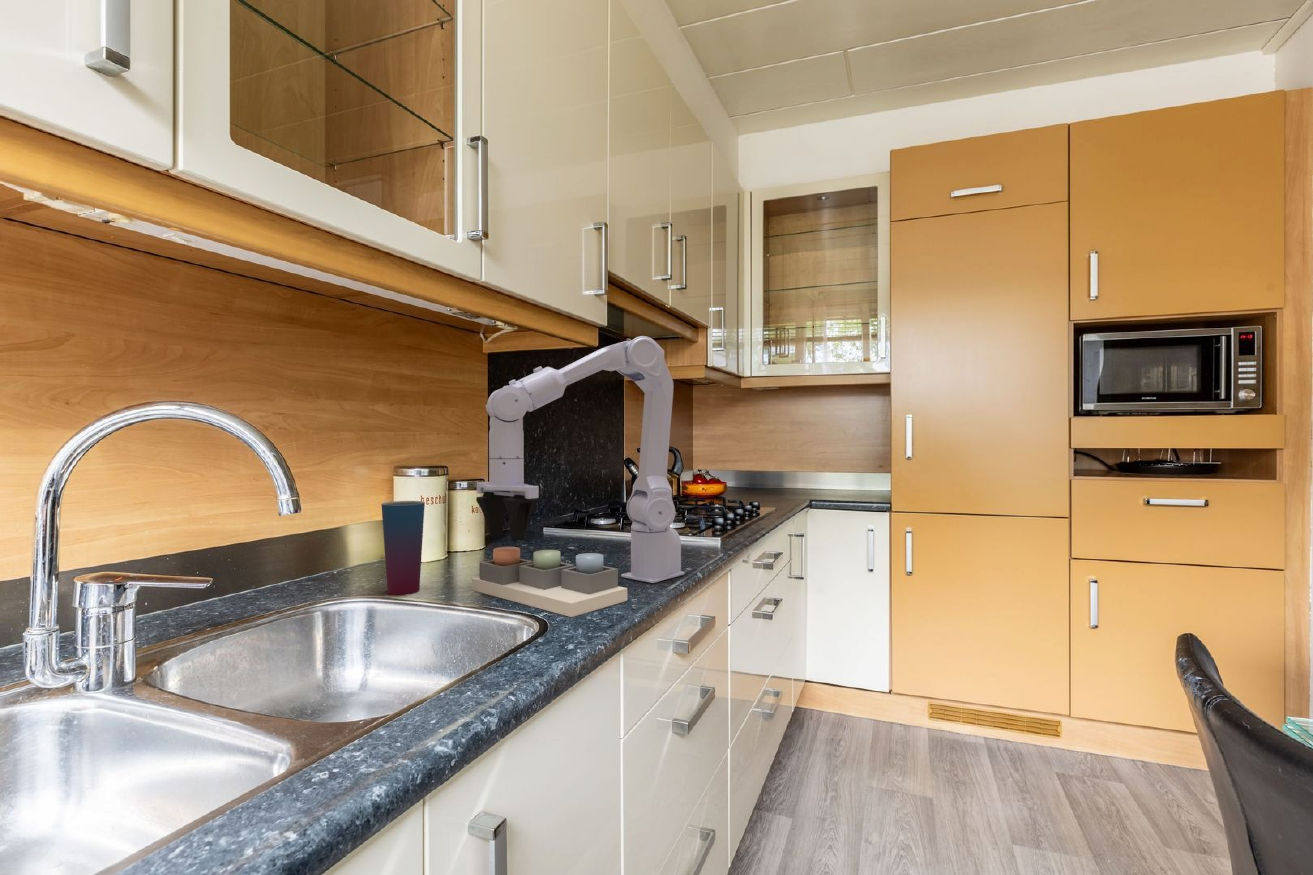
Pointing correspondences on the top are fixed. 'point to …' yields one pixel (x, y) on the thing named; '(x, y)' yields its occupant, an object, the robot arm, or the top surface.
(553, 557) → the button green
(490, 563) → the panel
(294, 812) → the top surface
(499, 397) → the robot arm
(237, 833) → the top surface
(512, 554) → the button terracotta
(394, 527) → the cup
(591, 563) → the button blue
